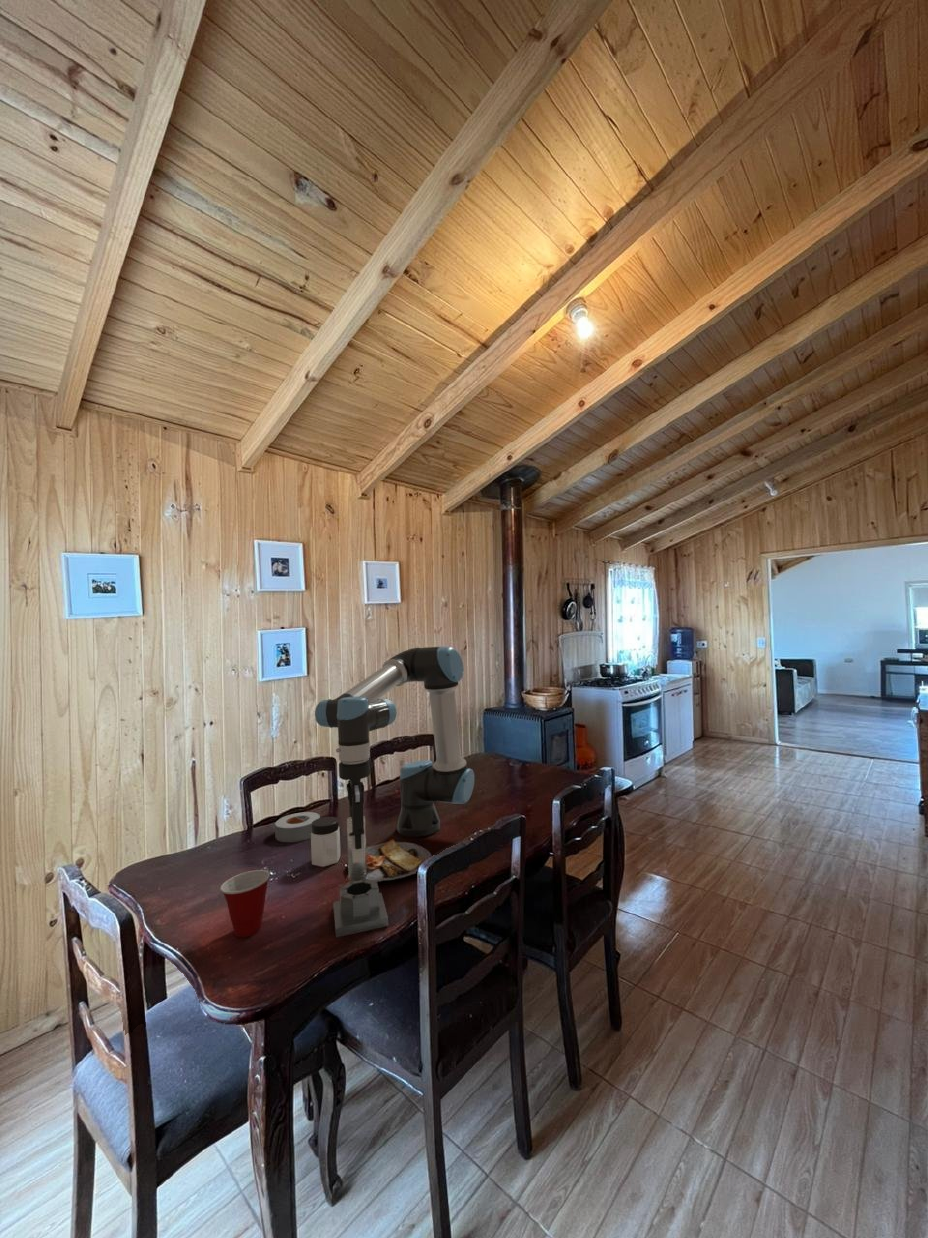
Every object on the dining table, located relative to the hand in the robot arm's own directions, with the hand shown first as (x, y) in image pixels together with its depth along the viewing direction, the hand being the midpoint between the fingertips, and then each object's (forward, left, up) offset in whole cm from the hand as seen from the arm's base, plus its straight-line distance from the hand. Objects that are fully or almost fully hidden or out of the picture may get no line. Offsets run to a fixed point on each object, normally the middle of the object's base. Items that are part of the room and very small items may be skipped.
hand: (357, 856), depth 119 cm
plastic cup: (+26, -5, -15) cm, 30 cm away
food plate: (-11, -25, -15) cm, 32 cm away
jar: (+7, -36, -15) cm, 40 cm away
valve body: (0, -2, -15) cm, 15 cm away
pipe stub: (0, 0, -5) cm, 5 cm away
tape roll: (+16, -63, -15) cm, 67 cm away
